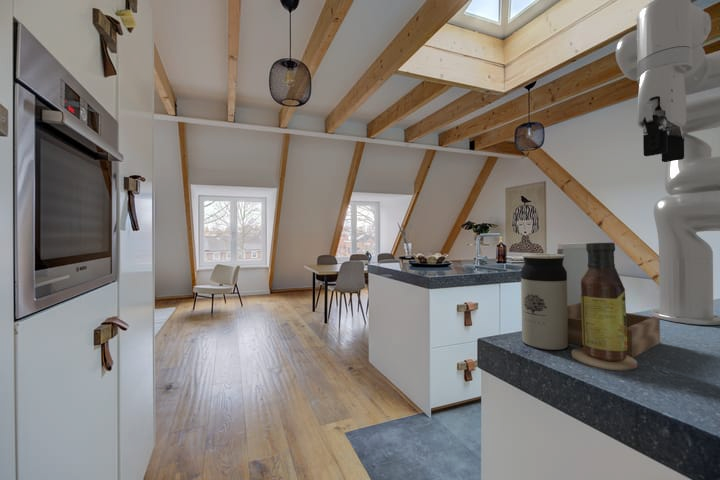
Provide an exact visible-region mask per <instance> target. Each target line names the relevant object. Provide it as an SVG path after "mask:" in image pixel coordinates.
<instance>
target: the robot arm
mask: <svg viewBox="0 0 720 480" xmlns="http://www.w3.org/2000/svg"><path fill="white" fill-rule="evenodd" d="M638 13H639V14H637V18H636V29H635V30H633V31H632V30H631V31H630V32H628V33H626V34H625V35H623V36H622V37H621V38H620V39H619V40H618V42H617V44H616V47H615V60H616V63H617V65H618V67H619V69H620V70H621V73H623V75H624V76H625V77H626V78H628V79H629V80H631V81H637V84H638V93H637V111H636V112H637V114H636V124H637V126H638V127H639V128H641V129H642V133H643V136H642V137H643V139H642V140H643V143H642V145H643V149H642V151H643V156H644V157H651V156H658V155H661V162H662V163H665V172H664V173H665V174H664V188H665V191H666V193H667V194H668V195H667V196H664V197H661V198H660V199H659V200H657V201H656V202H655V204H654V207H653V217H654V222H655V227H656V232H657V239H658V284H659V285H658V286H659V287H658V289H659V290H658V292H659V294H658V295H659V309H660V310H655V309H653V311H652V310H651V315H652V317H657V318H660V319H661V320H665V321H669V322H675V323H679V324H680V323H682V324H687V325H688V324H689V325H698V326H699V325H700V326H701V325H702V326H719V325H720V316H719V315H715V313H714V253H713V248H712V247H711V245H710V244H709V243H708V242H707V241H706V240H704V239H703V238H701V237H700V236H699V235H698V234H697V233H698V232H700V233H701V232H720V156H715V157H714V156H713V157H712V146H711V145H710V144H708V143H707V142H706V141H704V140H702V139H701V138H699V137H697V136H694V135H692V134H690V133H695V132H701V131H706V130H710V129H711V130H712V129H717V128H720V93H716V94H711V95H708V96H704V97H703V96H702V97H699V98H696V99H690V100H687V96H689V95H693V94H698V93H701V92H702V93H703V92H706V91H710V90H713V89H718V88H720V50H717V51H714V52H711V53H708V54H706V51H705V49H704V47H703V46H701V45H702V44H703V43H704V42H705V41H706V40H707V38H708V37H709V34H710V32H712V18H711V16H710V14H709V13H708V12H707V11H704V10H703V9H702V8H700V7H699V6H696V5H694V4H693V3H692V0H652V1H651V2H648V3H647V5H645V6H644V7H643V8H642V9H641V10H640V11H639V12H638ZM663 308H664V309H663Z"/></svg>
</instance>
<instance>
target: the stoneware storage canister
mask: <svg viewBox="0 0 720 480" xmlns="http://www.w3.org/2000/svg"><path fill="white" fill-rule="evenodd" d="M521 257H522V258H523V262H524V265H523V266H522V268H521V269H520V270H521V271H520V278H521V279H520V287H521V288H520V290H521V292H520V293H521V341H522V342H523V343H524V344H526V345H528V346H529V347H533V348H535V349H540V350H544V351H545V350H546V351H547V350H548V351H561V350H564V349H566V348H568V347H569V342H568V314H567V271H566V270H565V268H564V266H563V265H562V264H563V259H564V258H565V255H561V254H557V253H524V254H522V255H521Z"/></svg>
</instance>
